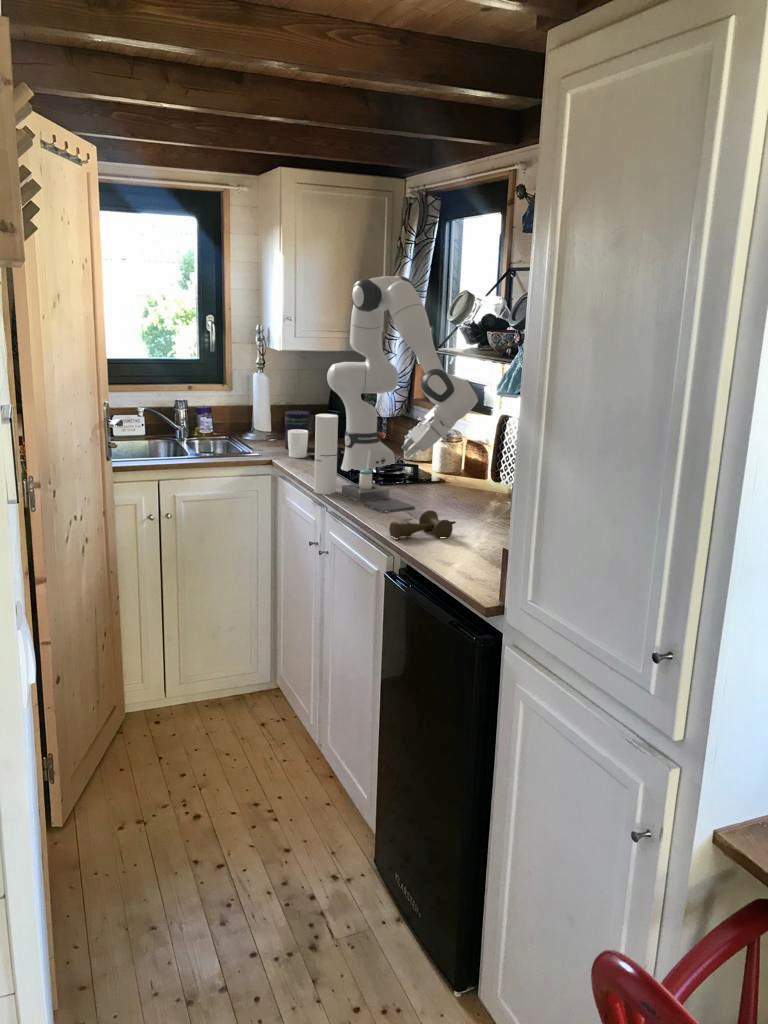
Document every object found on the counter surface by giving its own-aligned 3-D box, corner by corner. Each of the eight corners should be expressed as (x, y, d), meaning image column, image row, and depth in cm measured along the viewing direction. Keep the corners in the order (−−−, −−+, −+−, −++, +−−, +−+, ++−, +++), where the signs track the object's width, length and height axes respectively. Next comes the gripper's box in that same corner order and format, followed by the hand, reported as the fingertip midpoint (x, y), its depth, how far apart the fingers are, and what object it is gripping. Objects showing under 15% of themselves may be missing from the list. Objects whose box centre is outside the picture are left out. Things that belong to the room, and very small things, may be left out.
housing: (370, 490, 277) (370, 482, 277) (388, 498, 269) (389, 489, 268) (341, 494, 271) (342, 485, 271) (359, 502, 263) (360, 492, 262)
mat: (396, 500, 266) (396, 499, 266) (414, 508, 258) (414, 506, 258) (364, 505, 260) (364, 503, 259) (382, 512, 252) (382, 510, 251)
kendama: (383, 536, 231) (446, 527, 239) (399, 547, 222) (464, 537, 231) (384, 515, 229) (447, 507, 237) (400, 525, 221) (465, 517, 229)
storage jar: (281, 447, 344) (281, 410, 340) (303, 445, 349) (303, 409, 345) (290, 451, 336) (290, 414, 332) (312, 450, 340) (313, 413, 336)
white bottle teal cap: (367, 494, 273) (368, 468, 270) (373, 497, 269) (374, 471, 267) (356, 495, 270) (357, 470, 268) (363, 498, 267) (364, 472, 265)
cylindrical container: (333, 495, 270) (334, 417, 263) (311, 493, 271) (312, 416, 265) (338, 490, 277) (340, 414, 270) (317, 488, 278) (319, 413, 272)
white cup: (283, 455, 328) (283, 430, 325) (300, 453, 333) (300, 428, 330) (295, 459, 322) (295, 433, 319) (311, 457, 327) (312, 431, 324)
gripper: (425, 410, 275) (394, 439, 276) (434, 420, 255) (401, 451, 257) (438, 424, 276) (407, 453, 278) (448, 435, 257) (414, 466, 258)
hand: (404, 452), depth 267 cm, fingers open, 8 cm apart
